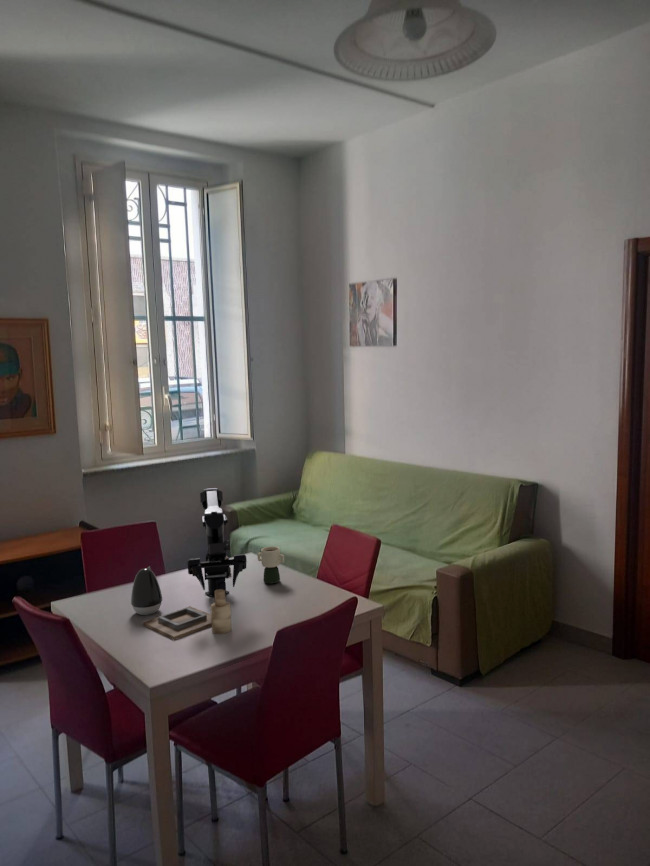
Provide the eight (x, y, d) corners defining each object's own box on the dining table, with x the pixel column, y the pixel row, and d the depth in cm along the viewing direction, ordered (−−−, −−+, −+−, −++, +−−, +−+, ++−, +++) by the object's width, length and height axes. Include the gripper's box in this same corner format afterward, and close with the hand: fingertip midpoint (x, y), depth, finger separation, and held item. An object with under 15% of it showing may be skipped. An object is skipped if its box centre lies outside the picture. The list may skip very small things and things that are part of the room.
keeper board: (143, 625, 212) (142, 617, 212) (190, 608, 225) (189, 601, 225) (174, 639, 200) (173, 631, 199) (222, 621, 212) (221, 614, 212)
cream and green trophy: (288, 580, 251) (287, 547, 250) (281, 586, 245) (280, 552, 243) (262, 578, 255) (261, 545, 254) (254, 584, 248) (253, 550, 247)
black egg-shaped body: (166, 606, 228) (163, 563, 227) (158, 617, 218) (155, 572, 216) (137, 606, 229) (134, 564, 227) (127, 618, 218) (124, 573, 217)
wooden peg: (208, 630, 206) (206, 591, 205) (223, 624, 210) (221, 586, 209) (219, 635, 202) (217, 595, 200) (235, 629, 206) (233, 590, 205)
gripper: (185, 534, 211) (188, 578, 201) (244, 529, 214) (249, 572, 205) (187, 552, 219) (189, 595, 209) (243, 547, 223) (248, 589, 213)
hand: (219, 587), depth 209 cm, fingers open, 9 cm apart
